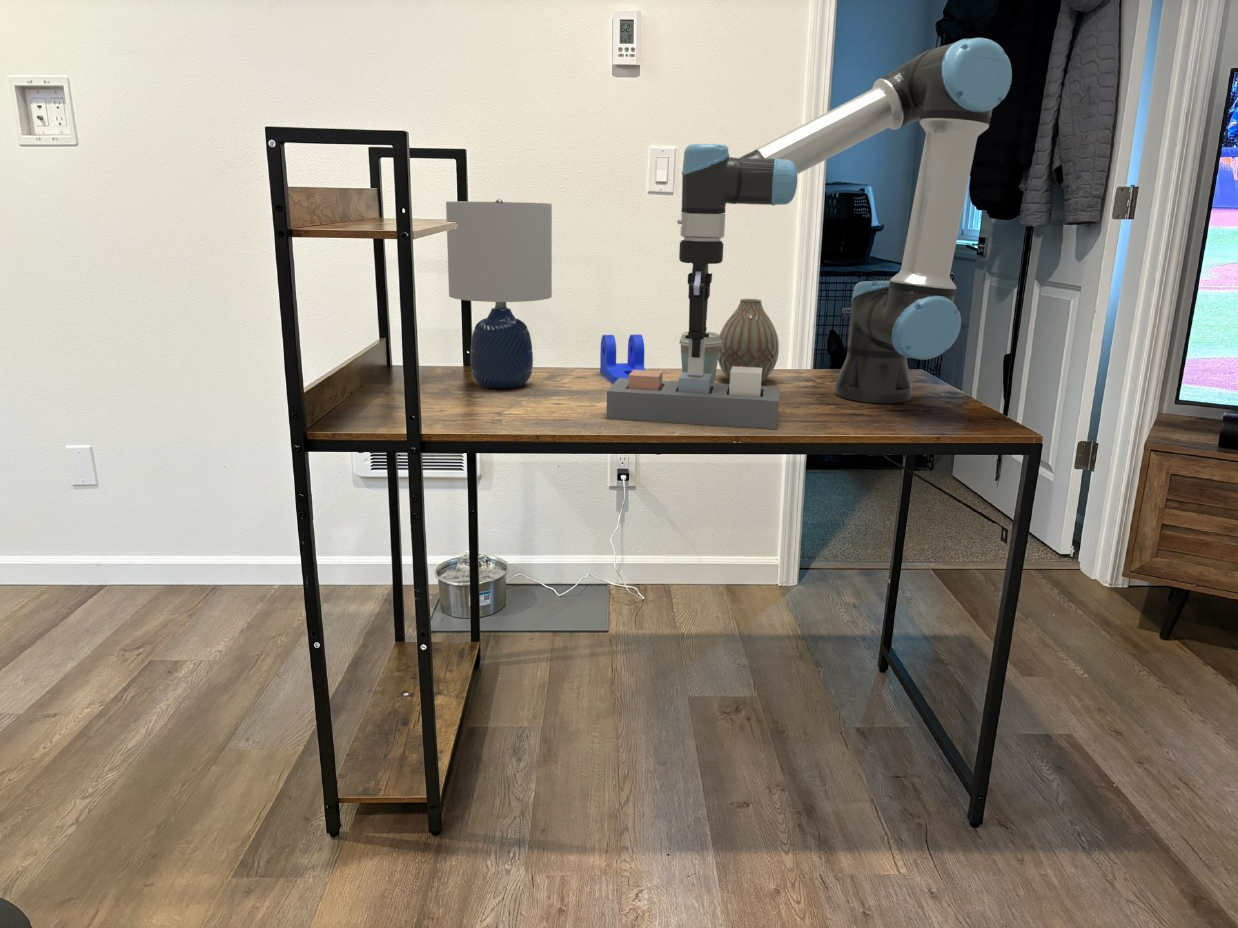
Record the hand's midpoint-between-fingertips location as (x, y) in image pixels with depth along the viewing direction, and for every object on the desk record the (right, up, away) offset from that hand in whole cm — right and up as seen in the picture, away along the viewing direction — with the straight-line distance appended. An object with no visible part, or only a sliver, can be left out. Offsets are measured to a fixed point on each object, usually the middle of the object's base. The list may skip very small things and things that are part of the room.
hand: (695, 374), depth 163 cm
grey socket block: (0, -7, +2) cm, 8 cm away
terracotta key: (-9, -4, +3) cm, 10 cm away
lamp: (-38, 0, +24) cm, 45 cm away
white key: (+9, -4, -1) cm, 9 cm away
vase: (+14, +2, +34) cm, 37 cm away
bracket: (-12, +2, +33) cm, 35 cm away
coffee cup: (+2, -2, +21) cm, 22 cm away
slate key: (0, -4, +1) cm, 5 cm away
